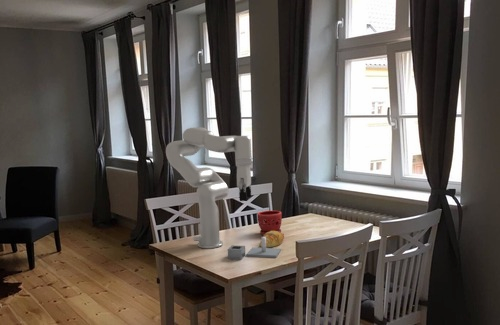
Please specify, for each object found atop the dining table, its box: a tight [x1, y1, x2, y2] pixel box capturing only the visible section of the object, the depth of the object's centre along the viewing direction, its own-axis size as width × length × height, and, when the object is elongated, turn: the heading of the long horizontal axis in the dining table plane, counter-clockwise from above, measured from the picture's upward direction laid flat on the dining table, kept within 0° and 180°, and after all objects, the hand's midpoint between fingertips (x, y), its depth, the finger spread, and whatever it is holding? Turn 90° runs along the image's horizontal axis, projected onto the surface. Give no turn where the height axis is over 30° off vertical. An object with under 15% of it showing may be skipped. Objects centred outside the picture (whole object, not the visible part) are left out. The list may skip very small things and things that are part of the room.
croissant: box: [259, 231, 285, 248], centre depth 228 cm, size 21×10×8 cm, turn 147°
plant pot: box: [256, 210, 283, 236], centre depth 247 cm, size 13×13×12 cm
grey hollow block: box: [227, 244, 246, 261], centre depth 208 cm, size 6×6×4 cm
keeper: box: [245, 236, 282, 259], centre depth 212 cm, size 14×11×8 cm
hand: (245, 199), depth 212 cm, fingers open, 9 cm apart
